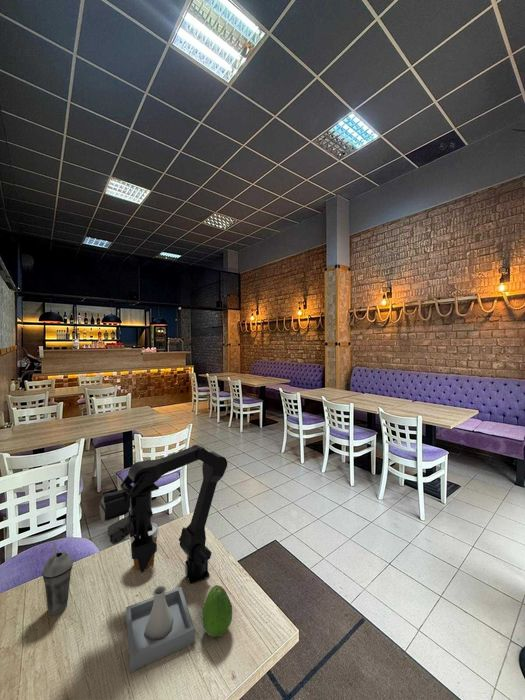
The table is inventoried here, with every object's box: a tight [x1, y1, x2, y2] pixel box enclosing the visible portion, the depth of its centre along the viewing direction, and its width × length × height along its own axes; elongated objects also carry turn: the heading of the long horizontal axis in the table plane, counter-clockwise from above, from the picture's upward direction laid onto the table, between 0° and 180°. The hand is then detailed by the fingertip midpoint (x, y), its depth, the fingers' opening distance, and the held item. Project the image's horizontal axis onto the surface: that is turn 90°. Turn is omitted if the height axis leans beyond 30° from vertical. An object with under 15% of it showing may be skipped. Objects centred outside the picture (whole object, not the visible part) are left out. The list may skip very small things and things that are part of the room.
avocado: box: [201, 585, 233, 638], centre depth 78 cm, size 8×8×12 cm
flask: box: [144, 585, 173, 640], centre depth 79 cm, size 7×7×10 cm
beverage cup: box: [41, 540, 74, 616], centre depth 85 cm, size 7×7×20 cm
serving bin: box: [125, 586, 196, 673], centre depth 79 cm, size 15×15×4 cm
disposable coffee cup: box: [128, 522, 160, 572], centre depth 102 cm, size 10×10×12 cm
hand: (140, 561), depth 86 cm, fingers open, 9 cm apart
